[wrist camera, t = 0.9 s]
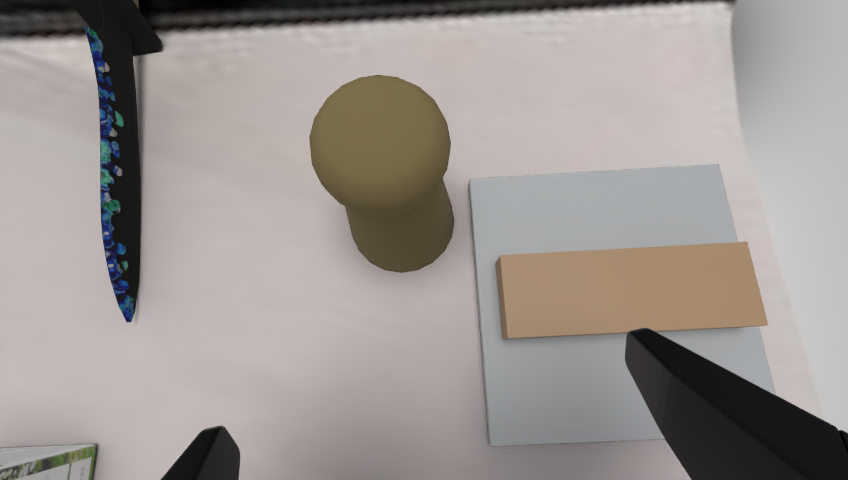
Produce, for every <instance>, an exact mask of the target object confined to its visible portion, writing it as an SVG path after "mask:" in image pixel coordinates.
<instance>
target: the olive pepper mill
mask: <svg viewBox="0 0 848 480" xmlns="http://www.w3.org/2000/svg"><path fill="white" fill-rule="evenodd" d="M450 145H451V142H450V136H449V131H448V126H447V122H446V120H445V118H444V116H443V114H442V112H441V111H440V109H439V107H438V106H437V104H436V102H435V100H434V99H433V98H432V97H430V96H429V95H428V94H427V93H426V92H425V91H423V90H422V89H421V88H420V87H418V86H416V85H414V84H412V83H409V82H407V81H405V80H402V79H400V78H398V77H392V76H383V75H374V76H368V77H362V78H358V79H356V80H353V81H351V82H349V83H347V84H345V85H342V86H341V87H340V88H339V89H338V90H336V91H335V92H334V93H333V94H332V95H330V96H329V97H328V98H327V100H326V101H325V103H324V104H323V106H322V107H321V109H320V110H319V112H318V113H317V115H316V117H315V118H314V122H313V126H312V130H311V133H310V148H311V159H312V165H313V167H314V169H315V172H316V174H317V176H318V178H319V180H320V182H321V184H322V185H323V186H324V188H325V189H326V190H327V191H328V192H329V193H330V194H331V195H332V196H333V197H334V198H335V199H336V200H337V201H338V202H339V203H340V204H342V205H344V206H345V208H346V212H347V216H348V220H349V224H350V228H351V232H352V236H353V239H354V241H355V243H356V245H357V247H358V249H359V251H360V252H361V253H362V254H363V255H364V256H365V257H366V258H367V259H368V260H369V261H370V263H372V264H374V265H376V266H378V267H380V268H382V269H384V270H389V271H395V272H408V271H414V270H419V269H421V268H423V267H425V266H427V265H429V264H431V263H433V262H434V261H435V260H436V259H437V258H438V257H439V256H440V255H441V254H442V253H443V252H444V251H445V249H446V247H447V245H448V243H449V241H450V240H451V238H452V233H453V227H454V216H453V211H452V206H451V203H450V200H449V197H448V194H447V190H446V187H445V184H444V181H443V176H444V174H445V172H446V171H447V166H448V160H449V154H450Z"/></svg>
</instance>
